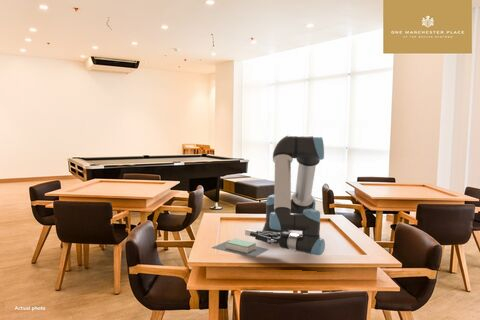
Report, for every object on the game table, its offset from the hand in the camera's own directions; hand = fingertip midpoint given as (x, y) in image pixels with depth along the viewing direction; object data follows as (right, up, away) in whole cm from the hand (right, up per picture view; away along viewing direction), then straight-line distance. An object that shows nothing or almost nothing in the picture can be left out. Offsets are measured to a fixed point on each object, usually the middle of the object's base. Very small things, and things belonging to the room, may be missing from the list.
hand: (246, 232), depth 181 cm
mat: (-3, -9, +2) cm, 10 cm away
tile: (+3, -7, -1) cm, 8 cm away
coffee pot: (+19, -6, +48) cm, 52 cm away
